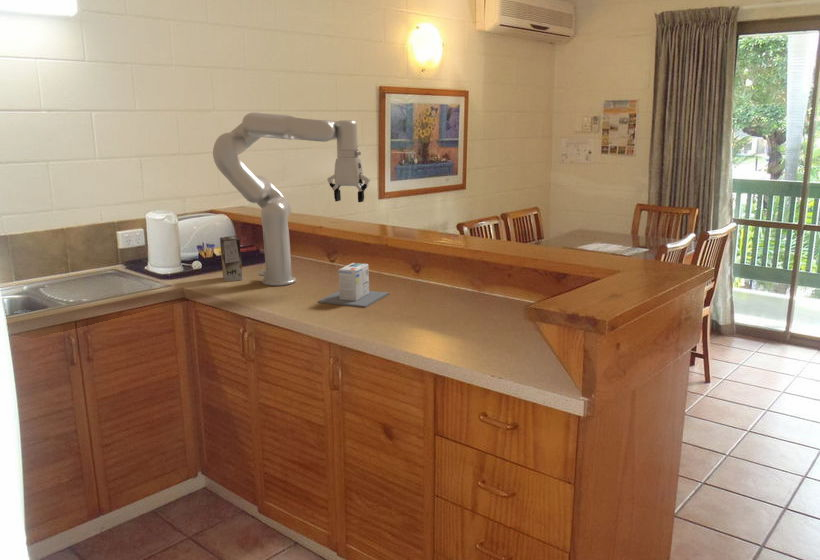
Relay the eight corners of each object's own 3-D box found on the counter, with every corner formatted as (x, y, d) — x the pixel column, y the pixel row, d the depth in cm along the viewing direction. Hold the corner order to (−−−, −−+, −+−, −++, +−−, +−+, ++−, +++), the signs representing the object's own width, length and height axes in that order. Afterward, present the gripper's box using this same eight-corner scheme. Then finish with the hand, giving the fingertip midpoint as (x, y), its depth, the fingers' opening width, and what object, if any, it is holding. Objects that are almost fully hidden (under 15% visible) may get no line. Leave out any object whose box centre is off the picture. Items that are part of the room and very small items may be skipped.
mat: (318, 302, 232) (318, 300, 232) (343, 289, 248) (343, 288, 248) (365, 307, 225) (365, 305, 225) (388, 294, 241) (388, 292, 241)
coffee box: (243, 280, 265) (240, 239, 261) (226, 281, 263) (223, 240, 259) (238, 275, 273) (235, 235, 270) (222, 277, 271) (219, 237, 267)
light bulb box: (352, 292, 242) (351, 262, 239) (370, 293, 240) (369, 263, 237) (338, 299, 232) (337, 268, 230) (356, 301, 230) (355, 270, 227)
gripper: (373, 154, 250) (374, 201, 254) (332, 154, 257) (334, 199, 261) (363, 155, 244) (365, 203, 248) (321, 155, 250) (323, 201, 255)
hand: (349, 201), depth 254 cm, fingers open, 9 cm apart
